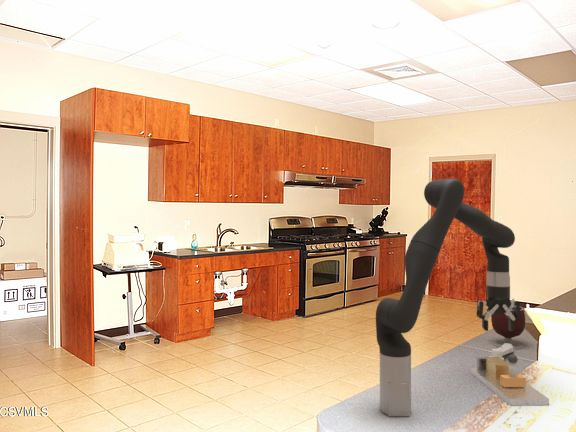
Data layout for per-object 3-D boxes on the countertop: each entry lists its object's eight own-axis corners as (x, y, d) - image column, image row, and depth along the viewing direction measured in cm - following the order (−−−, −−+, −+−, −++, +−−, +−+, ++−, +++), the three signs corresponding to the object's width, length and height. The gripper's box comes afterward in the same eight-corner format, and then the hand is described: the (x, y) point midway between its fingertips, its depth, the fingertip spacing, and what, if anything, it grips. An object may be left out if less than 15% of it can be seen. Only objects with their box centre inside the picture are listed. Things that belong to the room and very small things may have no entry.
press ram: (525, 387, 153) (525, 355, 153) (504, 387, 153) (504, 355, 153) (521, 383, 156) (520, 353, 156) (500, 383, 156) (499, 353, 156)
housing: (510, 379, 161) (510, 364, 161) (495, 379, 161) (495, 365, 161) (499, 371, 169) (499, 357, 169) (485, 371, 169) (485, 358, 169)
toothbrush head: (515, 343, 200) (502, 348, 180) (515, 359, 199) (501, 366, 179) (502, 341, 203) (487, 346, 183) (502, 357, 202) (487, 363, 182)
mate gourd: (520, 351, 200) (520, 305, 200) (487, 346, 209) (486, 301, 210) (530, 344, 212) (529, 300, 212) (497, 339, 221) (497, 296, 221)
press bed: (549, 405, 144) (548, 385, 144) (510, 405, 144) (510, 385, 144) (503, 372, 174) (503, 356, 174) (470, 372, 174) (470, 356, 174)
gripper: (481, 285, 161) (481, 333, 160) (523, 286, 160) (524, 333, 160) (473, 282, 168) (473, 328, 168) (513, 283, 168) (514, 328, 168)
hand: (498, 330), depth 164 cm, fingers open, 8 cm apart
